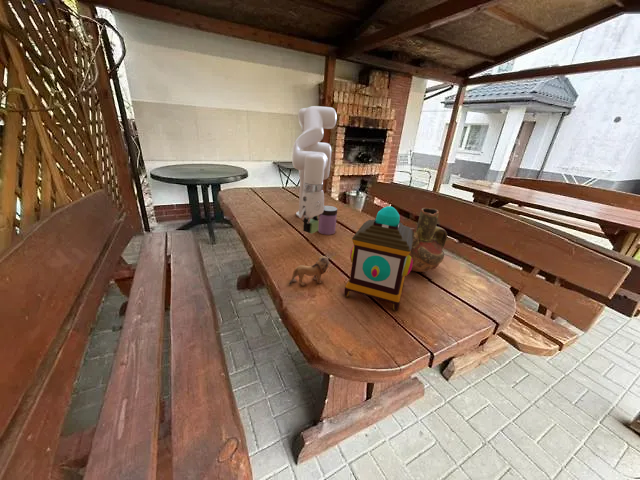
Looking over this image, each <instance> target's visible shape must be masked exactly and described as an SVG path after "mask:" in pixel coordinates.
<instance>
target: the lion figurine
mask: <svg viewBox="0 0 640 480" xmlns="http://www.w3.org/2000/svg"><path fill="white" fill-rule="evenodd" d="M329 260H330V259H329V257H327V256H325V255H321V256H319V257H318V259H317V260H316V262H315V263H314V264H312V265H304V264H299V265H297V266H296V267H295V268H294V270H293V272H292V276H291V280H290V282H289V283H288V285H291V284H292V283H293V282H294V283H295V282H296V281H297V280H296V279H295V278H296V277H298V283H299V284H300V286H302V287H304V286H305V285H306V284H305V282H303V279H304V277H305V275H306V276H307V277H308V276H309V277H313V280H315V281H316V282H317V284H322V281H321V277H322V275H323V274H325V273H326V272H327V270H328V268H329V265H330V261H329Z"/></svg>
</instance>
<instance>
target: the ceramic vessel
mask: <svg viewBox="0 0 640 480" xmlns="http://www.w3.org/2000/svg"><path fill="white" fill-rule="evenodd" d="M439 212H440V210H438V209H436V208H429V207H422V208H421V209H420V212H419V217H418V221H417V225H416V228H414V227H410V229H412V230H413V232H414V238H413V243H412V248H411V252H410V253H409V255H410V256H411V257H412V260H413V264H412V269H411V271H413V272H422V273H424V272H428V271H430V270H435V269H436V268H437V267H439V265H440V264H441V263H442V262H443V261H444V258H445V251H443V250H444V247H445V244H446V242H447V239H448V233H447V231H446V230H445V229H444V228H442V227H440V226H437V224H438V220H439Z"/></svg>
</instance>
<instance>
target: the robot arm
mask: <svg viewBox="0 0 640 480" xmlns="http://www.w3.org/2000/svg"><path fill="white" fill-rule="evenodd" d="M297 118H298V123H299V126H300V128H301V132H302V133H301V134H299V136H297V138H296V139H295V140H294V143H293V145H292V156H291V157H292V159H291V161H292V162H291V163H292V166H293V168H294V169H295V170H298V176H299V193H298V195H299V196H298V197H299V198H298V211H296V213H295V215H296V217H298V219H299V220H301V221H302V223H303V225H304V227H303V226H302V227H303V229H302V230H303V232H305V233H308V234H310V218H311V219H314V220H317V221H319V219H320V215H321V214H322V213H323V211H324V206H325V192H324V190H323V188H324V181H325V180H328V179H329V177H330V173H331V171H330V170H331V162H332V146H331V144H330V143H328V142H321V141H322V140H323V138H324V129H326V130H330V129H331V130H332V129H334V128H335V126H336V124H337V112H336V109H335V108H333V107H331V106H320V105H311V106H308V107H302V108H300V109H299V110H298V113H297Z"/></svg>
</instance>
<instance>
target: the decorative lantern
mask: <svg viewBox="0 0 640 480" xmlns="http://www.w3.org/2000/svg"><path fill="white" fill-rule="evenodd" d="M400 219H401V217H400V214H399V212H398V210H397V209H396V208H395V207H393V206H391V205H387V206H385V207H382V208H381V209H380V210H379V211H378V212H377V214H376V217H375V218H374V219H368V220H366V221H365V222H363V224H361V226H360V228H359V229H358V230H357V231H356V233H355V234H354V235H353V236H352V238H351V242H352V244H353V245H352V248H351V249H350V253H349V259H350V262H351V268H350V269H351V270H350V275H349V276H350V277H349V279H348V281H347V283H346V284H345V286H344V289H343V291H344V292H343V295H344V296H345V297H349V296H350V292H352V293H355V294H356V293H357V294H360V295H364V296H367V297H370V298H374V299H377V300H381V301H385V302H387V303H391V304H393V305H392V307H393V308H392V309H393V311H395V312H396V311H398V310H399V307H400V303H401V298H402V293H403V288H404V285H405V284H404V283H405V278H406V276H408V275H409V274H410V273H411V271H412V270H411V269H412V264H413V260H412V257H411V256H410V255H409V253H410V252H411V248H412V243H413V238H414V232H413V230H412V229H410V228H411V227H410V226H407V225H404V224H403V223H402V222H401V220H400Z"/></svg>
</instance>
